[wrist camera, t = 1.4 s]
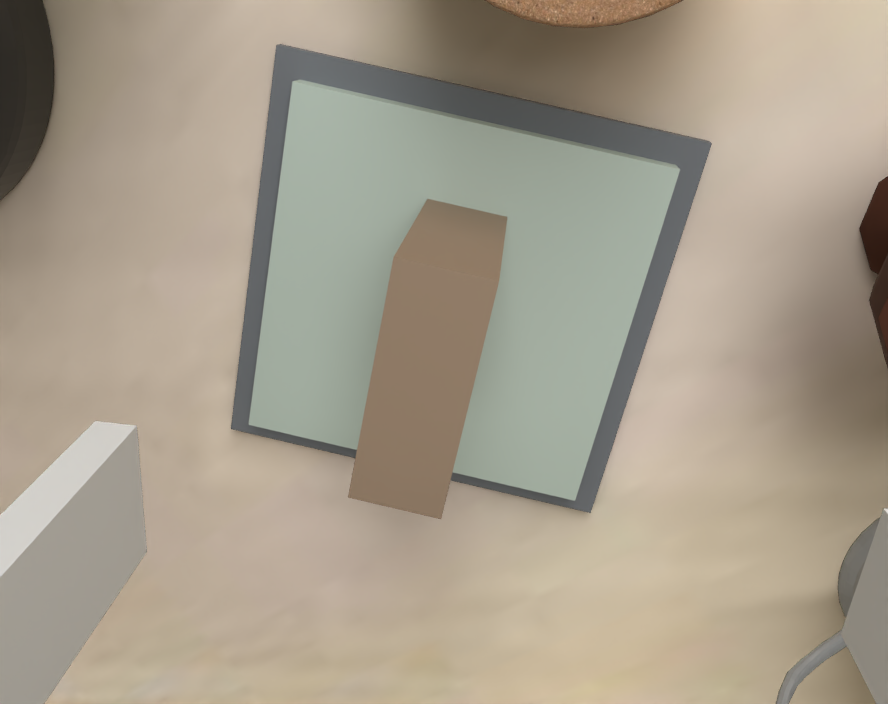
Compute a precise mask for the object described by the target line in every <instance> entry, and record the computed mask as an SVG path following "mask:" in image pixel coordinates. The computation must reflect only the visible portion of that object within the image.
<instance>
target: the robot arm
mask: <svg viewBox="0 0 888 704" xmlns="http://www.w3.org/2000/svg"><path fill="white" fill-rule="evenodd" d="M53 82H54V63H53V51H52V42H51V36H50V29H49V25H48V20H47V16H46V12H45V8H44V5H43V1H42V0H0V200H1V199H2V198H3V197H4V196H5V195H6V194H7V193H8V192H10V191H11V190H12V189H13V187H14V186H15V185H16V184H17V183H18V182H19V181H20V179H21V178H22V177H23V175H24V174H25V172H26V171H27V170H28V168H29V166H30V165H31V163H32V161H33V160H34V158H35V156H36V153H37V151H38V149H39V147H40V145H41V142H42V139H43V137H44V134H45V131H46V127H47V124H48V120H49V115H50V110H51V104H52V96H53ZM146 552H147V546H146V533H145V520H144V508H143V495H142V483H141V470H140V458H139V445H138V433H137V426H136V425H127V424H118V423H109V422H100V421H95V422H94V423H93V424H92V425H91V426H90V427H89V428H88V429H87V430H86V431H85V432H84V433H83V434H82V435H81V436H80V437H79V438H78V439H77V440H76V441H75V442H74V443H73V444H72V445H71V446H70V447H68V448H67V449H66V450H65V451H64V452H63V453H62V454H61V455H60V456H59V457H58V458H57V459H56V460H55V461H54V462H53V463H52V464H51V465H50V466H49V467H48V468H47V469H46V470H45V471H44V472H43V473H42V474H41V475H40V476H39V477H38V478H37V479H36V480H35V481H34V482H33V483H32V484H31V485H30V486H29V487H28V488H27V489H26V490H25V491H24V492H23V493H22V494H21V495H20V496H19V497H18V498H17V499H16V500H15V501H14V502H13V503H12V504H11V505H10V506H9V507H8V508H7V509H6V510H5V511H4V512H3V513H2V514H1V515H0V704H44V703H45V702H46V700H47V699H48V697H49V696H50V694H51V693H52V692H53V690H54V689H55V687H56V686H57V684H58V683H59V681H60V680H61V678H62V677H63V675H64V674H65V672H66V671H67V669H68V668H69V666H70V665H71V663H72V662H73V660H74V659H75V657H76V656H77V655H78V653H79V652H80V650H81V649H82V647H83V646H84V644H85V643H86V641H87V640H88V638H89V637H90V635H91V634H92V632H93V631H94V629H95V628H96V626H97V625H98V623H99V622H100V621H101V619H102V618H103V616H104V615H105V613H106V612H107V610H108V609H109V607H110V606H111V604H112V603H113V601H114V600H115V598H116V597H117V595H118V594H119V592H120V591H121V589H122V588H123V586H124V585H125V584H126V582H127V581H128V579H129V578H130V576H131V575H132V573H133V572H134V570H135V569H136V567H137V566H138V564H139V563H140V561H141V560H142V558H143V557H144V555H145V554H146ZM841 635H842V637H843V639H844V641H845V643H846V645H847V647H848V649H849V651H850V653H851V655H852V657H853V659H854V661H855V663H856V665H857V667H858V669H859V671H860V673H861V675H862V677H863V679H864V681H865V683H866V685H867V687H868V689H869V691H870V693H871V695H872V697H873V699H874V700H875V702H876V704H888V509H885V508H884V509H883V512H882V515H881V517H880V520H879V523H878V526H877V529H876V532H875V535H874V538H873V541H872V544H871V547H870V549H869V552H868V555H867V558H866V561H865V564H864V567H863V570H862V573H861V576H860V579H859V582H858V584H857V587H856V590H855V593H854V596H853V599H852V602H851V605H850V608H849V611H848V614H847V617H846V619H845V622H844V625H843V628H842V631H841Z"/></svg>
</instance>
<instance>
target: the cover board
mask: <svg viewBox="0 0 888 704" xmlns="http://www.w3.org/2000/svg"><path fill="white" fill-rule="evenodd" d="M679 172H680V169H679V168H678V167H677V166H676V165H675V164H670V163H666V162H661V161H657V160H653V159H648V158H644V157H639V156H635V155H630V154H626V153H622V152H617V151H613V150H608V149H604V148H600V147H595V146H591V145H586V144H582V143H578V142H573V141H569V140H564V139H560V138H556V137H551V136H547V135H542V134H538V133H533V132H529V131H525V130H520V129H516V128H511V127H507V126H503V125H498V124H494V123H489V122H485V121H481V120H476V119H472V118H467V117H463V116H459V115H454V114H450V113H445V112H441V111H437V110H432V109H428V108H423V107H419V106H414V105H410V104H406V103H401V102H397V101H392V100H388V99H384V98H379V97H375V96H370V95H366V94H362V93H357V92H353V91H348V90H344V89H340V88H335V87H331V86H326V85H322V84H317V83H313V82H309V81H304V80H296V81H292V89H291V97H290V105H289V113H288V120H287V128H286V136H285V144H284V152H283V159H282V167H281V175H280V183H279V191H278V198H277V206H276V214H275V222H274V230H273V237H272V245H271V253H270V261H269V269H268V277H267V284H266V292H265V300H264V308H263V316H262V323H261V331H260V339H259V347H258V355H257V362H256V370H255V378H254V386H253V394H252V401H251V409H250V417H249V425H252V426H256V427H261V428H265V429H269V430H273V431H278V432H282V433H286V434H291V435H295V436H299V437H303V438H308V439H312V440H316V441H321V442H325V443H329V444H333V445H338V446H342V447H346V448H351V449H355V450H357V452H356V458H355V463H354V468H353V474H352V479H351V484H350V489H349V495H348V497H349V498H353V499H357V500H361V501H366V502H370V503H374V504H379V505H383V506H387V507H391V508H396V509H400V510H404V511H408V512H413V513H417V514H421V515H426V516H430V517H434V518H438V519H441V517H442V513H443V509H444V505H445V501H446V497H447V492H448V488H449V484H450V480H451V476H452V472H453V473H458V474H462V475H466V476H471V477H475V478H479V479H483V480H488V481H492V482H496V483H501V484H505V485H509V486H514V487H518V488H522V489H526V490H531V491H535V492H539V493H544V494H548V495H552V496H556V497H561V498H565V499H569V500H574V501H575V499H576V496H577V493H578V490H579V487H580V484H581V481H582V477H583V474H584V471H585V468H586V465H587V462H588V458H589V455H590V452H591V449H592V446H593V443H594V440H595V436H596V433H597V430H598V427H599V424H600V421H601V418H602V414H603V411H604V408H605V405H606V402H607V399H608V395H609V392H610V389H611V386H612V383H613V380H614V377H615V373H616V370H617V367H618V364H619V361H620V358H621V355H622V351H623V348H624V345H625V342H626V339H627V336H628V332H629V329H630V326H631V323H632V320H633V317H634V314H635V310H636V307H637V304H638V301H639V298H640V295H641V292H642V288H643V285H644V282H645V279H646V276H647V273H648V269H649V266H650V263H651V260H652V257H653V254H654V251H655V247H656V244H657V241H658V238H659V235H660V232H661V229H662V225H663V222H664V219H665V216H666V213H667V210H668V206H669V203H670V200H671V197H672V194H673V191H674V188H675V184H676V181H677V178H678V175H679Z"/></svg>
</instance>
